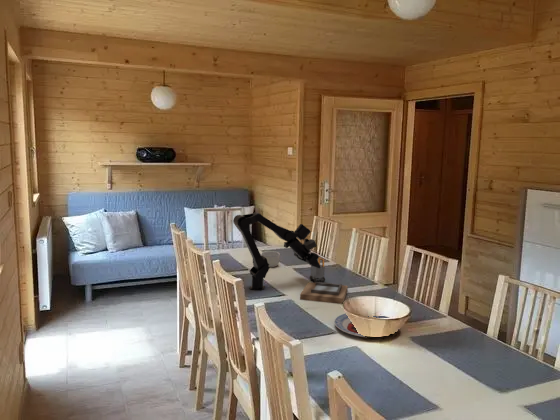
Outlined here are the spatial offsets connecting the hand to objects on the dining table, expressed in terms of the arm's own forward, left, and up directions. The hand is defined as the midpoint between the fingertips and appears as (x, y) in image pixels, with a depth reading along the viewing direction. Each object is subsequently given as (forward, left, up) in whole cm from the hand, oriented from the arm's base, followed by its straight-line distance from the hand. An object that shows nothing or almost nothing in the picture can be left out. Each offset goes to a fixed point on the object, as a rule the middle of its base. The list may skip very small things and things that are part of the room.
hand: (315, 265), depth 251 cm
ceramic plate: (-55, -33, -9) cm, 65 cm away
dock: (-20, -9, -9) cm, 24 cm away
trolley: (+1, -1, -9) cm, 9 cm away
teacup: (+21, +33, -9) cm, 40 cm away
